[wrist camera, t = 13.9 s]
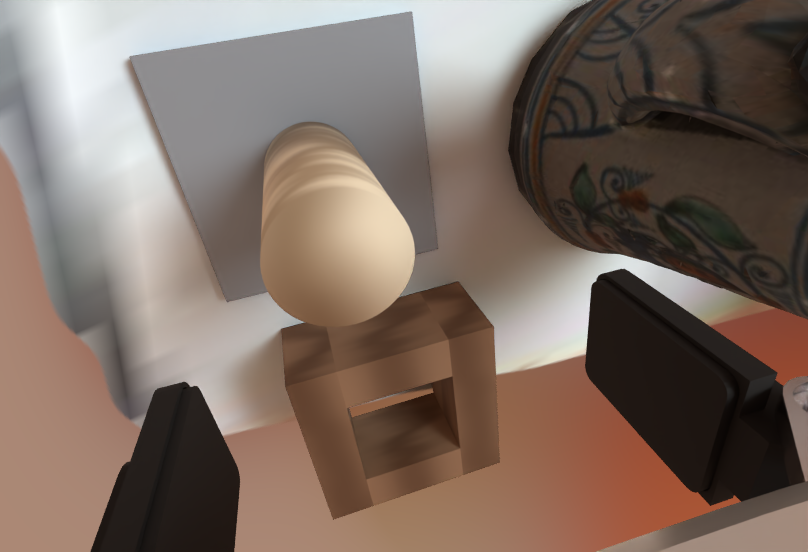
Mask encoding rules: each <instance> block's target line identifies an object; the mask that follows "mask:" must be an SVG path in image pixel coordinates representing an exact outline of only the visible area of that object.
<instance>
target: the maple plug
mask: <svg viewBox="0 0 808 552" xmlns="http://www.w3.org/2000/svg"><path fill="white" fill-rule="evenodd" d="M414 261H415V247H414V241H413V236H412V233H411V231H410V228H409V226H408V224H407V223H406V221H405V219H404V218H403V216H402V215H401V213H400V212H399V210H398V209H397V207H396V206H395V205H394V203H393V202H392V200H391V199H390V197H389V196H388V195H387V193H386V192H385V190H384V189H383V187H382V186H381V184H380V183H379V182H378V180H377V179H376V177H375V176H374V174H373V173H372V171H371V170H370V169H369V167H368V166H367V164H366V163H365V161H364V160H363V159H362V157H361V156H360V154H359V153H358V151H357V150H356V148H355V147H354V146H353V144H352V143H351V141H350V140H349V139H348V138H347V137H346V136H345V135H344V134H343V133H342V132H341V131H339V130H338V129H336V128H334V127H332V126H330V125H328V124H324V123H321V122H301V123H298V124H294V125H292V126H290V127H288V128H286V129H284V130H283V131H282V132H280V133H279V134H278V135H277V136H276V137H275V138H274V140H273V141H272V143H271V144H270V146H269V148H268V150H267V153H266V156H265V162H264V183H263V205H262V228H261V251H260V268H261V274H262V278H263V282H264V284H265V286H266V289H267V291H268V292H269V294H270V295H271V297H272V299H273V300H274V301H275V302H276V303H277V304H278V305H279V306H280V307H281V308H282V309H283V310H284V311H285V312H287V313H288V314H290V315H291V316H293V317H295V318H297V319H299V320H301V321H304V322H306V323H309V324H313V325H317V326H325V327H342V326H349V325H354V324H358V323H361V322H364V321H366V320H368V319H371V318H373V317H375V316H376V315H378V314H380V313H381V312H383V311H384V310H385V309H387V308H388V307H389V306H390V305H391V304H392V303H393V302H395V301H396V299H397V298H398V297H399V296H400V295H401V293H402V292H403V290H404V289H405V287H406V285H407V283H408V281H409V279H410V277H411V274H412V271H413V266H414Z"/></svg>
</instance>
